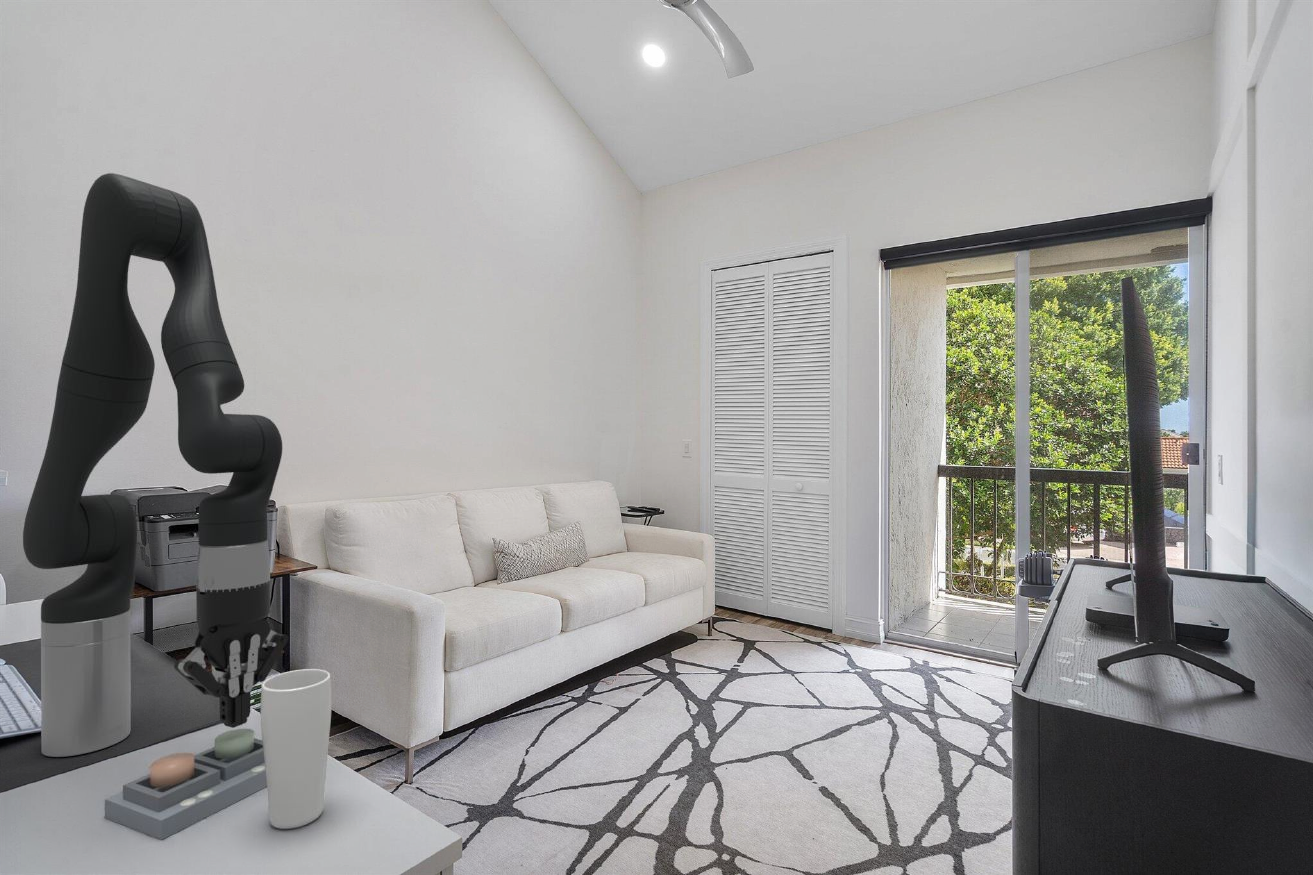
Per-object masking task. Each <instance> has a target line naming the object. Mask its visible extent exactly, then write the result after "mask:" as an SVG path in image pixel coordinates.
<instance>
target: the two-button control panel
mask: <svg viewBox="0 0 1313 875" xmlns="http://www.w3.org/2000/svg"><path fill="white" fill-rule="evenodd" d="M193 755H194V754H193ZM265 788H267V781H266V771H265V761H264V752H263V742H262V739H259V738H255V737H254V748H253V749H252V750H251V751H250V752H248V753H246V754H244V755H241V756H238V757H234V758H227V759H221V758H217V757H215V746H214V747H210V748H209V749H206V750H203V751H201V752H199V753H197V754H195V755H194V775H193V776H192V777H191V778H189V779H188V780H186V781H184V782H181V783H179V784H175V785H172V786H166V787H154V786H151V785H150V773H149V774H147V775H144V776H142V777H139V778H137V779H134V780H132V781H130V782H128V783H125V784H123V785H122V791H120V792H118V793H115V794H114V795H111V796H109V797H106V798H105V799H104V818H105V819H108V820H110V821H112V822H115V823H117V824H120V825H122V826H125V827H127V828H129V829H133V830H135V831H138V832H140V833H143V834H145V835H148V836H150V837H153V838H156V839H157V840H161V841H163V840H164V839H166V838H168V837H170V836H173V835H174V834H176V833H179V832H180V831H182V830H184V829H186V828H188V827H189V826H192V825H194V824H196V823H197V822H200V821H202V820H204V819H206V818H207V817H208V818H209V816H211V815H213V814H215V813H218V812H220V811H221V810H224V809H226V808H228V807H229V806H231V805H233V804H235V803H237V802H240V801H241V800H243V799H245V798H247V797H249V796H251V795H253V794H255V793H257V792H259V791H261V790H262V789H265Z"/></svg>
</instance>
